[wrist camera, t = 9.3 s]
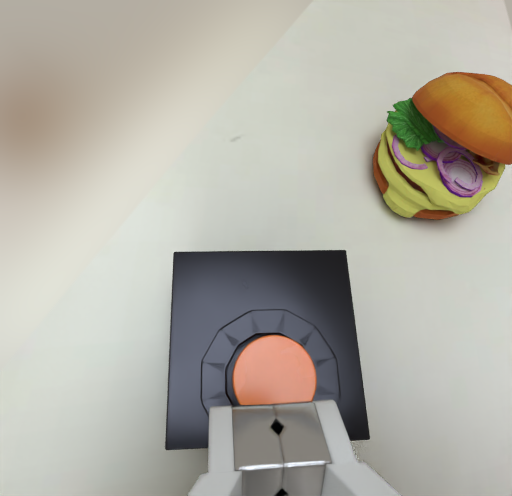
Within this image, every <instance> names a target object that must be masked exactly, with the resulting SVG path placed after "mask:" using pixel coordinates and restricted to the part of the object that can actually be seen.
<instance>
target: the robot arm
mask: <svg viewBox="0 0 512 496" xmlns="http://www.w3.org/2000/svg"><path fill="white" fill-rule="evenodd" d="M187 496H402V495H401V494H400V493H399V492H398V491H396V490H395V489H394V488H393V487H392V486H391V485H390V484H389V483H388V482H386V481H385V480H384V479H383V478H382V477H381V476H380V475H379V474H378V473H376V472H375V471H374V470H373V469H372V468H371V467H370V466H369V465H368V464H366V463H365V462H364V461H363V462H358V461H357V458H356V456H355V453H354V450H353V448H352V445H351V442H350V440H349V437H348V434H347V432H346V429H345V426H344V423H343V421H342V418H341V415H340V413H339V410H338V407H337V405H336V403H335V401H334V400H318V401H300V402H286V403H272V404H260V405H232V408H231V406H210V411H209V446H208V473H203V474H201V475H200V476H199V478H198V479H197V481H196V482H195V484H194V485H193V487H192V488H191V490H190V492H189V493H188V495H187Z"/></svg>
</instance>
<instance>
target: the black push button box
mask: <svg viewBox="0 0 512 496" xmlns="http://www.w3.org/2000/svg"><path fill="white" fill-rule="evenodd" d="M267 335H280V336H285V337H288V338H290V339H292V340H294V341H296V342H297V343H299V344H300V345H301V346H302V347H303V348H304V349H305V350H306V351H307V353H308V354H309V355H310V357H311V359H312V361H313V363H314V366H315V370H316V376H317V385H316V391H315V395H314V398H313V400H312V401H318V400H334V401H335V403H336V405H337V407H338V410H339V413H340V415H341V418H342V421H343V423H344V426H345V429H346V432H347V434H348V437H349V440H350V441H354V440H369V439H370V435H369V427H368V419H367V411H366V404H365V396H364V388H363V380H362V372H361V365H360V357H359V349H358V341H357V333H356V326H355V318H354V310H353V302H352V294H351V287H350V279H349V271H348V263H347V255H346V250H313V251H218V252H174V257H173V280H172V303H171V326H170V349H169V373H168V396H167V419H166V442H165V449H166V450H180V449H200V448H208V446H209V411H210V406H231V408H232V405H240V404H239V402H238V400H237V398H236V396H235V393H234V390H233V385H232V374H233V369H234V366H235V363H236V360H237V358H238V356H239V355H240V353H241V352H242V350H243V349H244V348H245V347H246V346H247V345H248V344H249V343H251V342H252V341H254V340H256V339H257V338H260V337H263V336H267Z"/></svg>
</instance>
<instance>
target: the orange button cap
mask: <svg viewBox="0 0 512 496" xmlns="http://www.w3.org/2000/svg"><path fill="white" fill-rule="evenodd" d="M232 385H233V390H234V393H235V396H236V398H237V400H238V402H239V404H240V405H260V404H272V403H286V402H300V401H312V400H313V398H314V395H315V391H316V385H317V376H316V370H315V366H314V363H313V361H312V359H311V357H310V355H309V354H308V353H307V351H306V350H305V349H304V348H303V347H302V346H301V345H300V344H299V343H297V342H296V341H294V340H292V339H290V338H288V337H285V336H280V335H267V336H263V337H260V338H257V339H256V340H254V341H252V342H251V343H249V344H248V345H247V346H246V347H245V348H244V349H243V350H242V352H241V353H240V355H239V356H238V358H237V360H236V363H235V366H234V369H233V374H232Z"/></svg>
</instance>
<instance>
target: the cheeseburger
mask: <svg viewBox="0 0 512 496" xmlns="http://www.w3.org/2000/svg"><path fill="white" fill-rule="evenodd" d="M393 107H394V108H395V109H396V111H395V112H393V111H387V113H389V115H388V118H387V122H388V125H387V128H386V130H385V131H384V132H383V133H382V134H381V140H380V142H379V144H378V146H377V148H376V150H375V153H374V156H373V170H374V176H375V179H376V181H377V183H378V186H379V188H380V190H381V193H382V194H383V198H384V200H385V202H386V204H387V205H388V206H389V207H390V208H391V209H392V210H393V211H394V212H395V213H397V214H399V215H400V216H403V217H408V218H410V217H412V216H415V217H417V218H427V219H436V220H439V219H444V218H448V217H452V216H457V215H459V214H464V213H467V212H469V211H471V210H472V209H473V208H474V207H475V206H476V205H477V204H478V203H479V202H480V201H481V199H482V198H483V197H484V196H485V195H486V194H487V193H489V192H490V191H492V190H493V189H495V187H496V185H497V183H498V181H499V179H500V177H501V175H502V173H503V171H504V169H505V164H508V165H509V164H512V85H510V84H509V83H507V82H505V81H504V80H502V79H500V78H497V77H495V76H491V75H485V74H475V73H464V72H453V73H446V74H444V75H442V76H440V77H438V78H436V79H434V80H432V81H430V82H428V83H427V84H425V85H424V86H423V87H422V88H420V89H419V90H418V91H417V92H416V93H415V94H414V95H413V97H412V98H409V99H408V100H406V101H400V102H398V103H396V104H394V105H393Z"/></svg>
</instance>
